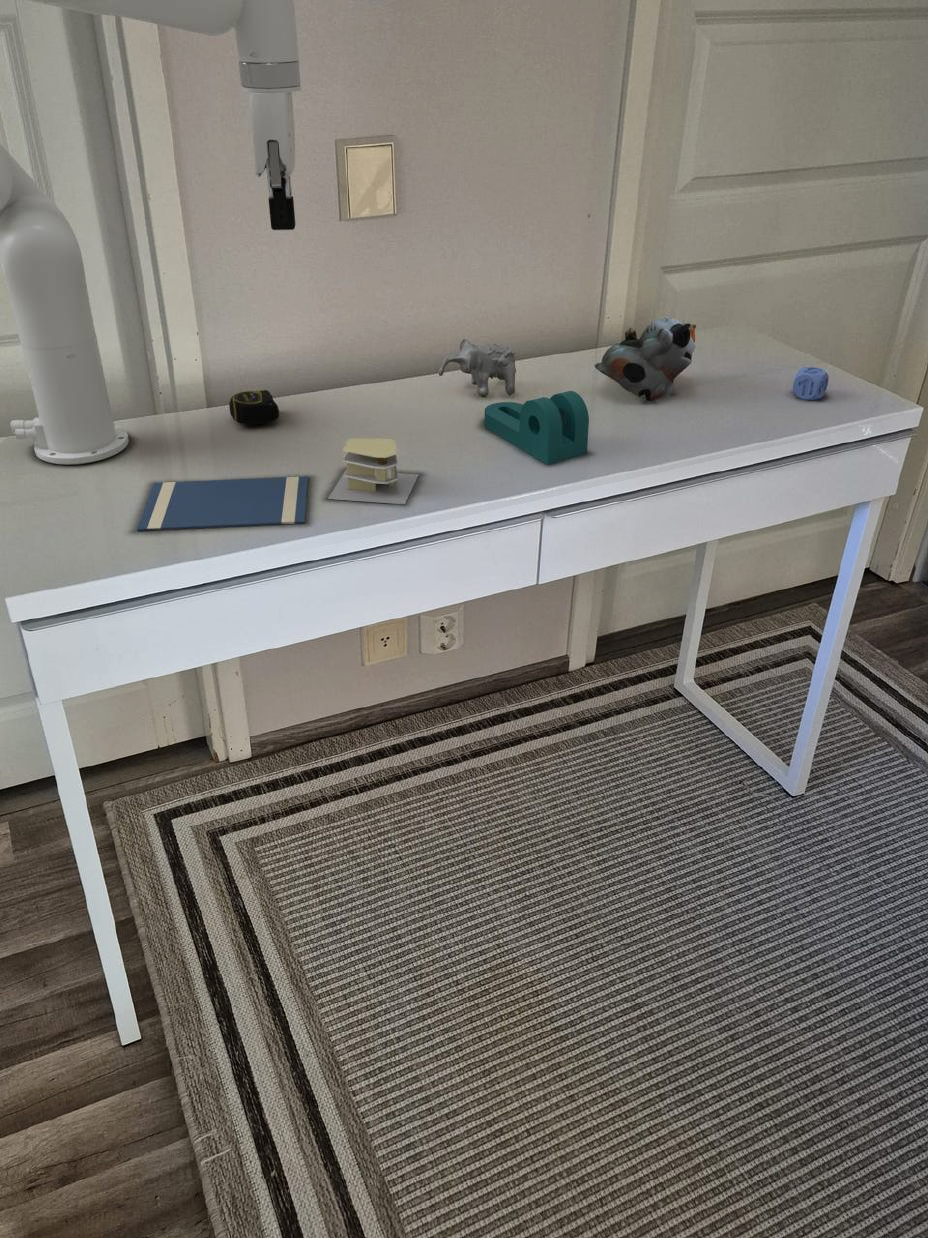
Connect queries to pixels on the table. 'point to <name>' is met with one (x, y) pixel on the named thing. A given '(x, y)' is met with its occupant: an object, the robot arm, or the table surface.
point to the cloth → (225, 503)
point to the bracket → (543, 426)
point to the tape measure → (253, 407)
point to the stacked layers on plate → (373, 473)
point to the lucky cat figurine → (650, 358)
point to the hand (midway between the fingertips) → (283, 228)
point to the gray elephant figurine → (485, 365)
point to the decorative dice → (810, 383)
